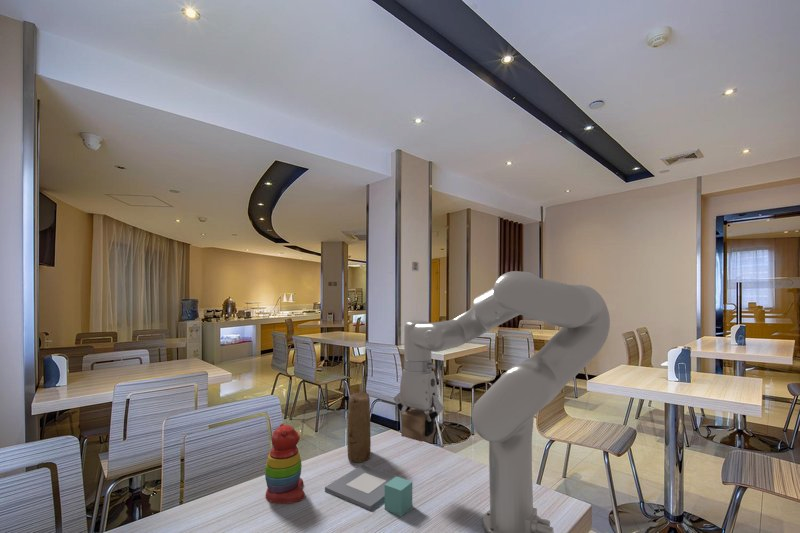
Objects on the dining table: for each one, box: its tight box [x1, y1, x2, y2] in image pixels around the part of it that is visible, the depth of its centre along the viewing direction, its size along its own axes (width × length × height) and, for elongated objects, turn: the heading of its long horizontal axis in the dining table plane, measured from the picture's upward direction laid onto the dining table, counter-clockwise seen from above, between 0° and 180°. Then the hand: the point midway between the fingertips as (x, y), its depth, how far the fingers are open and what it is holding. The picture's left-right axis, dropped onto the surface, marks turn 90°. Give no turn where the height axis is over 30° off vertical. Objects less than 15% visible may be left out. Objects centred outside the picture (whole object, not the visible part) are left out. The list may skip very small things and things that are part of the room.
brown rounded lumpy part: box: [346, 391, 372, 463], centre depth 122 cm, size 11×8×20 cm
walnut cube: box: [401, 408, 435, 442], centre depth 102 cm, size 6×6×6 cm
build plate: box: [324, 463, 407, 511], centre depth 103 cm, size 16×16×1 cm
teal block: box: [384, 475, 413, 517], centre depth 94 cm, size 5×5×6 cm
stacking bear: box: [264, 422, 306, 504], centre depth 101 cm, size 11×10×18 cm
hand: (417, 431), depth 102 cm, fingers closed on walnut cube, 6 cm apart
